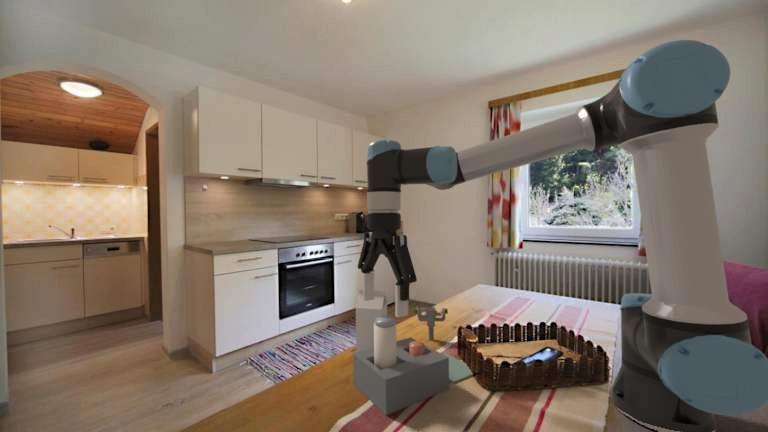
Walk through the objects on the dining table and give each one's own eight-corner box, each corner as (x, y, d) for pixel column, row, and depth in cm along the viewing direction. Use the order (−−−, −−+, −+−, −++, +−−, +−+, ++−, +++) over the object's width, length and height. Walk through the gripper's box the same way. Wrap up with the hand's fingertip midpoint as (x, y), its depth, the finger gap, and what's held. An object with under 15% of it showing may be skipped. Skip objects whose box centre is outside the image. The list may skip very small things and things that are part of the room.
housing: (449, 388, 69) (448, 357, 69) (385, 415, 60) (385, 379, 60) (410, 363, 81) (410, 337, 81) (353, 383, 72) (352, 353, 72)
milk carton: (382, 367, 80) (381, 293, 80) (356, 364, 81) (355, 292, 81) (387, 355, 87) (387, 287, 87) (363, 353, 88) (362, 286, 88)
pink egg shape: (427, 376, 73) (427, 345, 73) (416, 381, 71) (415, 348, 71) (418, 370, 76) (418, 339, 76) (406, 374, 74) (406, 343, 74)
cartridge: (401, 393, 68) (400, 320, 68) (382, 400, 65) (381, 325, 65) (388, 383, 72) (388, 314, 72) (370, 389, 69) (369, 318, 69)
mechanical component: (448, 341, 95) (448, 309, 95) (415, 341, 96) (414, 309, 96) (446, 337, 98) (446, 306, 98) (414, 337, 98) (414, 306, 99)
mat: (479, 372, 77) (479, 370, 77) (453, 383, 72) (453, 381, 72) (445, 354, 87) (445, 352, 87) (420, 362, 82) (420, 361, 82)
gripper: (434, 211, 60) (434, 320, 60) (370, 212, 81) (370, 292, 81) (403, 211, 56) (403, 327, 56) (344, 212, 77) (344, 296, 77)
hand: (383, 307), depth 69 cm, fingers open, 13 cm apart
